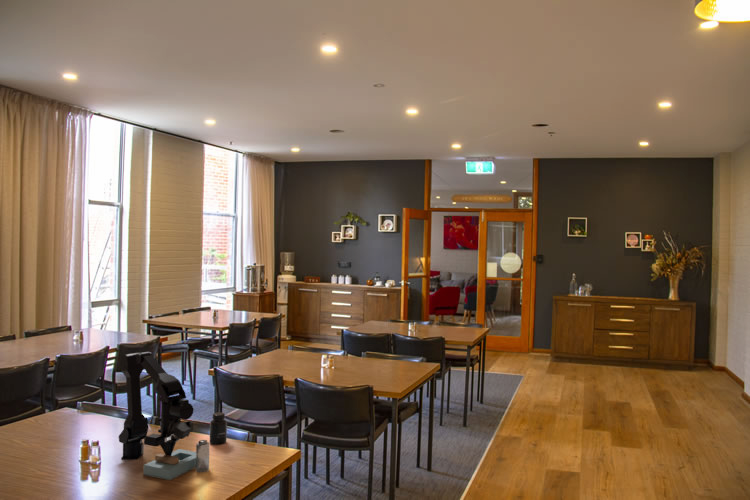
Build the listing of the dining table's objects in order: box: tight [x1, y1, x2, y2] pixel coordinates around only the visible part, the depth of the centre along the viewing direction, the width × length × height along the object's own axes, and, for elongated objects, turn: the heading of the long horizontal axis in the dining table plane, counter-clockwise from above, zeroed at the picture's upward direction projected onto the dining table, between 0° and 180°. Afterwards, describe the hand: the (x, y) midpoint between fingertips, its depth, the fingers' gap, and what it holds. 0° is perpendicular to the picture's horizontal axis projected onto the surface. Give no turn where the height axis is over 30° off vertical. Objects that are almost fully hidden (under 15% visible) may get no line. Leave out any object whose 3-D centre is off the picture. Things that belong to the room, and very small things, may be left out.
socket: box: [143, 448, 196, 481], centre depth 207 cm, size 12×18×4 cm, turn 157°
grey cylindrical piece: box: [195, 439, 210, 474], centre depth 205 cm, size 5×5×10 cm
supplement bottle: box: [209, 412, 228, 446], centre depth 235 cm, size 7×7×12 cm
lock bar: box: [154, 453, 179, 465], centre depth 203 cm, size 9×2×2 cm, turn 67°
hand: (168, 457), depth 205 cm, fingers closed
